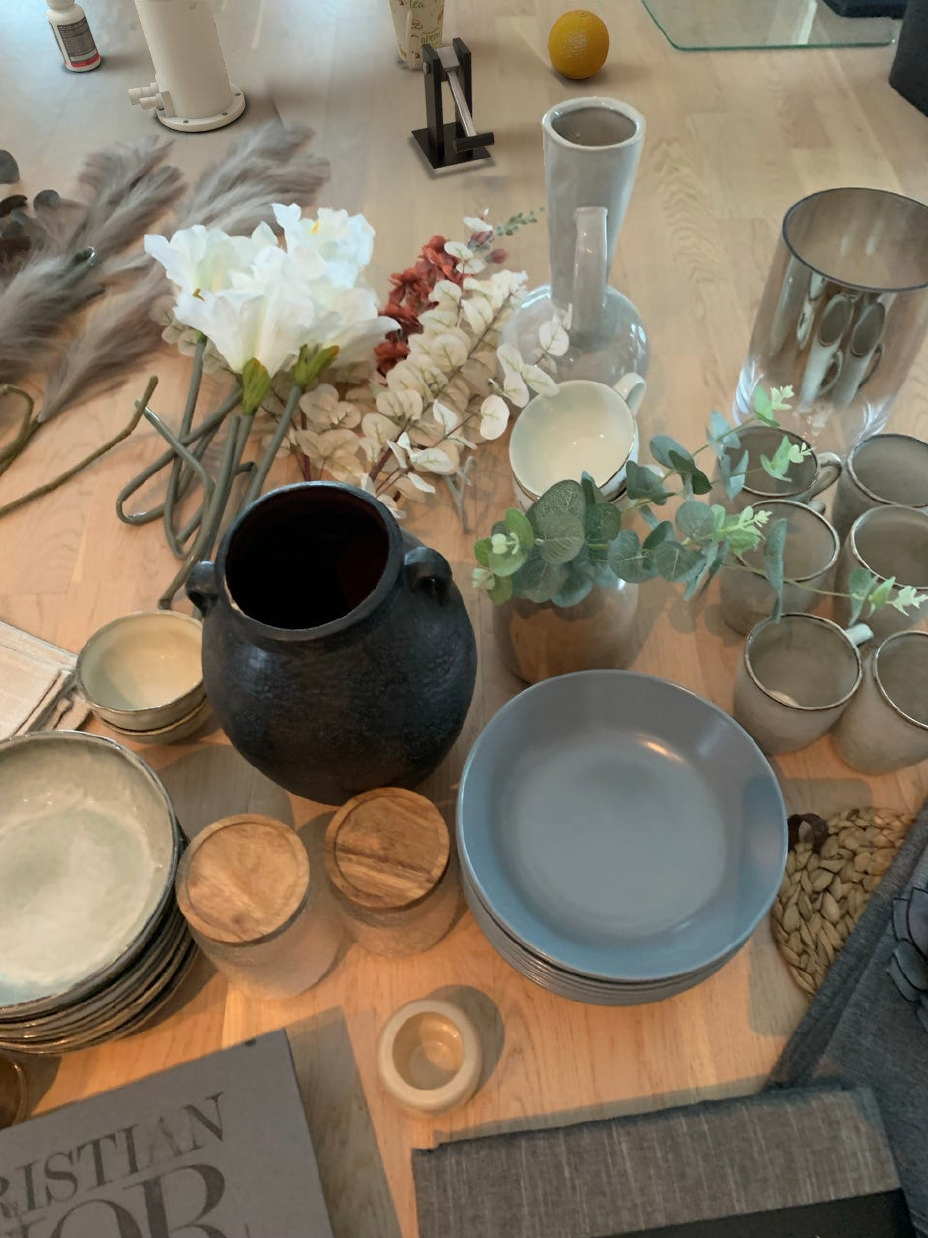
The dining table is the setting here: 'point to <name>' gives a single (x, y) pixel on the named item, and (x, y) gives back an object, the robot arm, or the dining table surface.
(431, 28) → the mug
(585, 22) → the fruit
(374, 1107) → the dining table surface
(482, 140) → the lever
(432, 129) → the black lever stand
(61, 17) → the pill bottle
